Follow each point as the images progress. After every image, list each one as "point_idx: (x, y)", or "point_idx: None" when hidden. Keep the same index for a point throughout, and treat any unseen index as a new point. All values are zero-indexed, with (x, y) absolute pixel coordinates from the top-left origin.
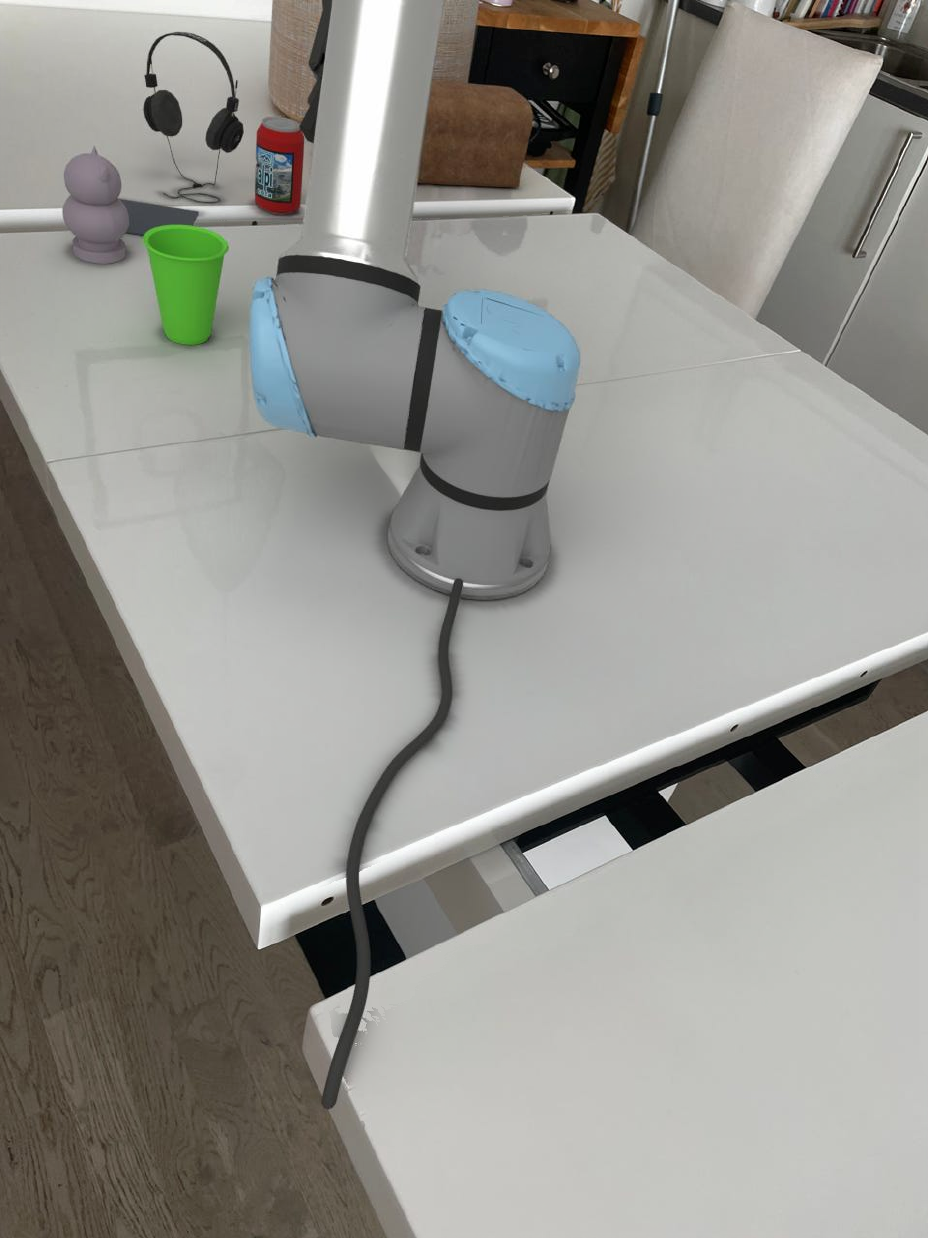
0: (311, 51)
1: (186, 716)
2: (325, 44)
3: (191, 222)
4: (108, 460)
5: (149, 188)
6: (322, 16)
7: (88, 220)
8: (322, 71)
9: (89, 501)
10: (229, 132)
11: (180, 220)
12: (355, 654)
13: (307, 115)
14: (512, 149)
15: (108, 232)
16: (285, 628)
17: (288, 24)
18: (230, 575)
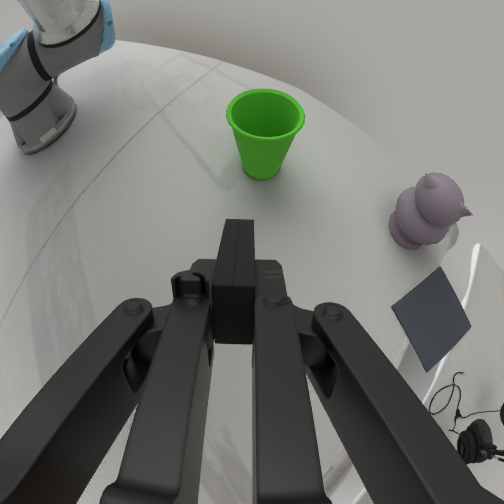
0: (371, 338)
1: (119, 41)
2: (354, 399)
3: (415, 345)
4: (204, 70)
5: (474, 369)
6: (456, 463)
7: (409, 188)
8: (275, 296)
9: (193, 57)
10: (469, 437)
11: (422, 340)
12: (80, 72)
13: (247, 230)
14: None
15: (397, 201)
16: (102, 65)
17: None
18: (126, 65)
